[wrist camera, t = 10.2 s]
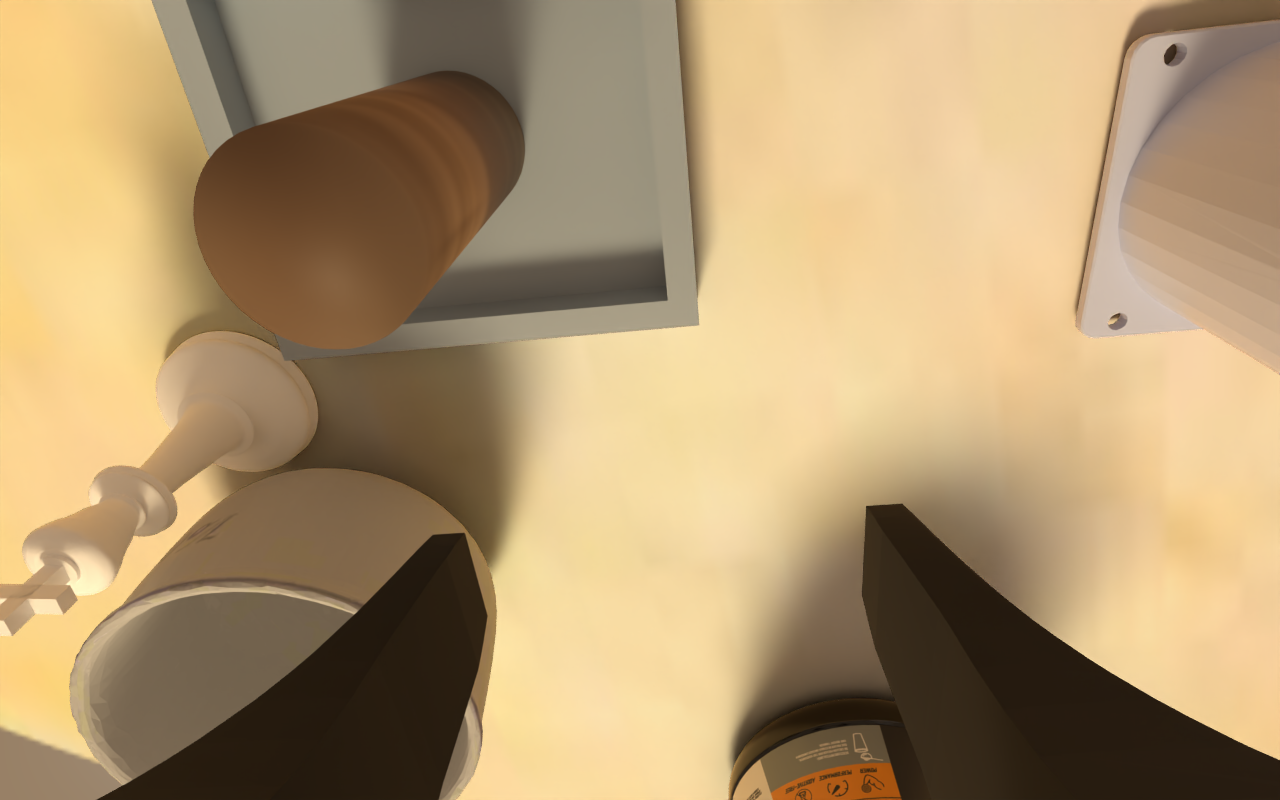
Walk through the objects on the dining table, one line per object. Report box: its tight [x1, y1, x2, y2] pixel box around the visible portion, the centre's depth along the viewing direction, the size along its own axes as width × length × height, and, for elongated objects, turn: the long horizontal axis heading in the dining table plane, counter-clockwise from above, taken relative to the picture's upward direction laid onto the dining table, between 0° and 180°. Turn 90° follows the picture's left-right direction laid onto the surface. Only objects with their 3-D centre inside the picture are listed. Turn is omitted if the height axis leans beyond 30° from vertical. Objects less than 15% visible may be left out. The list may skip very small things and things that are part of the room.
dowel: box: [194, 71, 525, 350], centre depth 15 cm, size 4×4×9 cm
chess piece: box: [0, 331, 318, 636], centre depth 20 cm, size 5×5×10 cm
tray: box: [152, 0, 699, 361], centre depth 19 cm, size 12×10×2 cm
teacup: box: [69, 468, 497, 800], centre depth 24 cm, size 14×11×8 cm
